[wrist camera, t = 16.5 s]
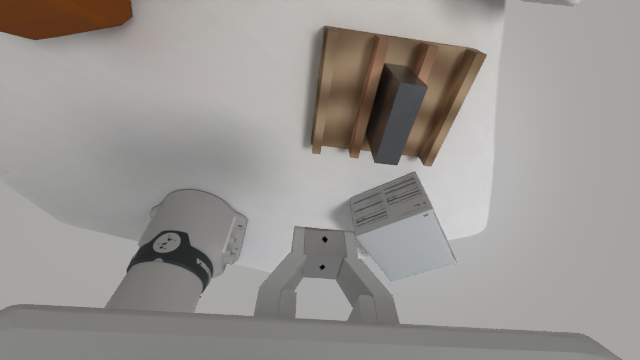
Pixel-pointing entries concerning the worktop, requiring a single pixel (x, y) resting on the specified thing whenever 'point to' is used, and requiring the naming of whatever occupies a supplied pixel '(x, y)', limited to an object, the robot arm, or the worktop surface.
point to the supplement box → (400, 228)
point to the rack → (363, 79)
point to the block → (394, 112)
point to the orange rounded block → (61, 16)
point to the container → (556, 2)
